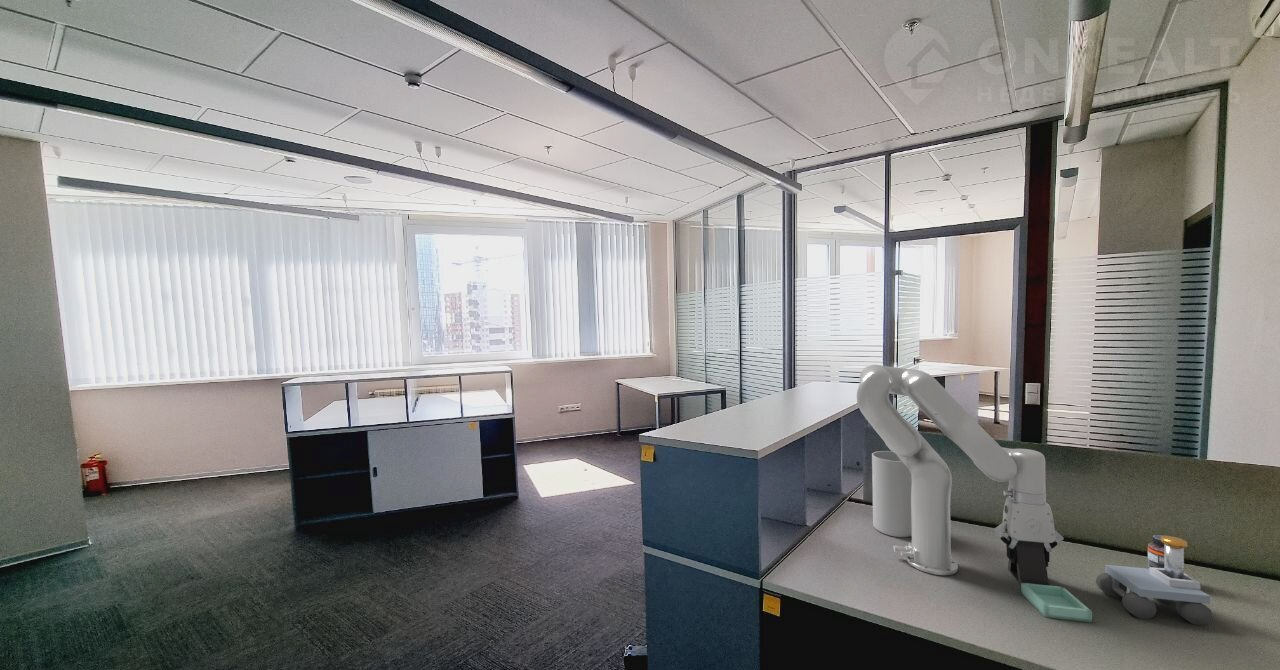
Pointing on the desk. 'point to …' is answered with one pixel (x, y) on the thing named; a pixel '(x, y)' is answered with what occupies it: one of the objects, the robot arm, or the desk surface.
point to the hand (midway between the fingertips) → (1027, 562)
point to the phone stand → (1029, 563)
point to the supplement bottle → (1156, 553)
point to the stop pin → (1174, 556)
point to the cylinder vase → (891, 494)
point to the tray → (1056, 602)
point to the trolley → (1155, 592)
